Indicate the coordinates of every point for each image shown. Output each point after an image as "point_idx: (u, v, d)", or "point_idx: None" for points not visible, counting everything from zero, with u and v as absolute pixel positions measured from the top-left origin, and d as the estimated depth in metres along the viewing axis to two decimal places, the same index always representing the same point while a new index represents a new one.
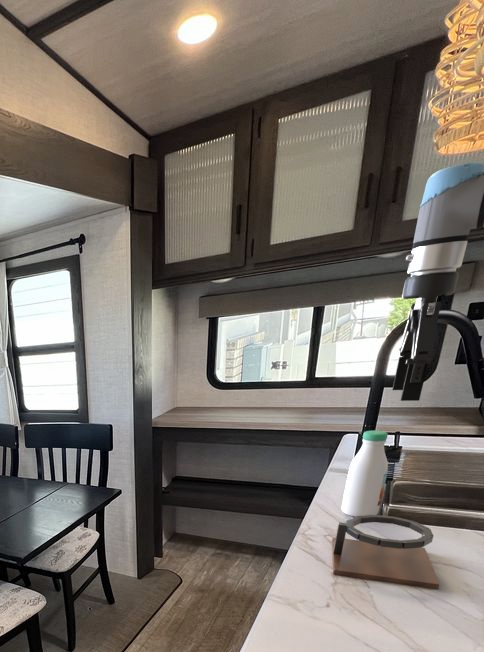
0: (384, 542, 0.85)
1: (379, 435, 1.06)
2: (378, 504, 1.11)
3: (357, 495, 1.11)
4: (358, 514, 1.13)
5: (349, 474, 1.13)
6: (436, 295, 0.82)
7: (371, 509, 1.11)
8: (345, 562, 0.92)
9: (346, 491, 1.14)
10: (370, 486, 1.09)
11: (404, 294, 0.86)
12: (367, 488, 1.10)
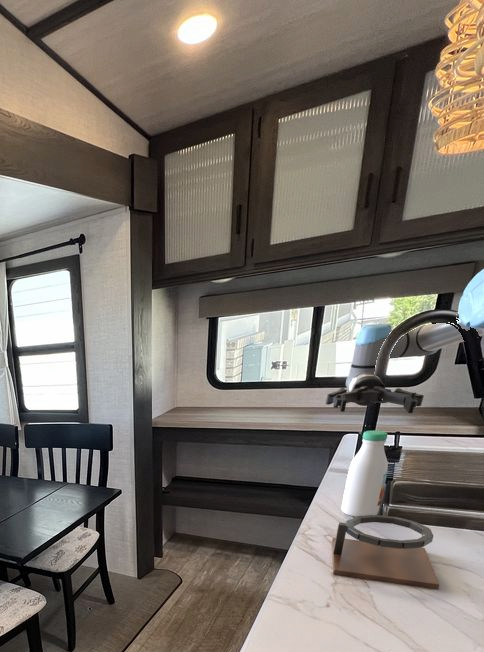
0: (384, 542, 0.85)
1: (379, 435, 1.06)
2: (378, 504, 1.11)
3: (357, 495, 1.11)
4: (358, 514, 1.13)
5: (349, 474, 1.13)
6: (352, 389, 1.27)
7: (371, 509, 1.11)
8: (345, 562, 0.92)
9: (346, 491, 1.14)
10: (370, 486, 1.09)
11: (359, 404, 1.28)
12: (367, 488, 1.10)
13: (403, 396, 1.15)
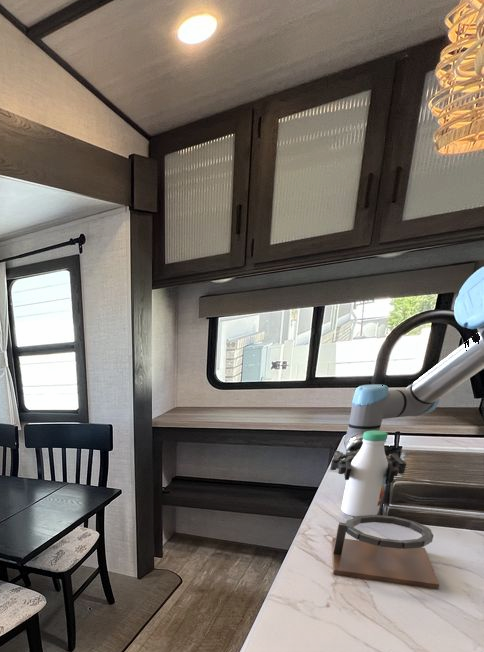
0: (384, 542, 0.85)
1: (379, 435, 1.06)
2: (378, 504, 1.11)
3: (357, 495, 1.11)
4: (358, 514, 1.13)
5: None
6: (347, 451, 1.24)
7: (371, 509, 1.11)
8: (345, 562, 0.92)
9: (346, 491, 1.14)
10: (370, 486, 1.09)
11: None
12: (367, 488, 1.10)
13: None
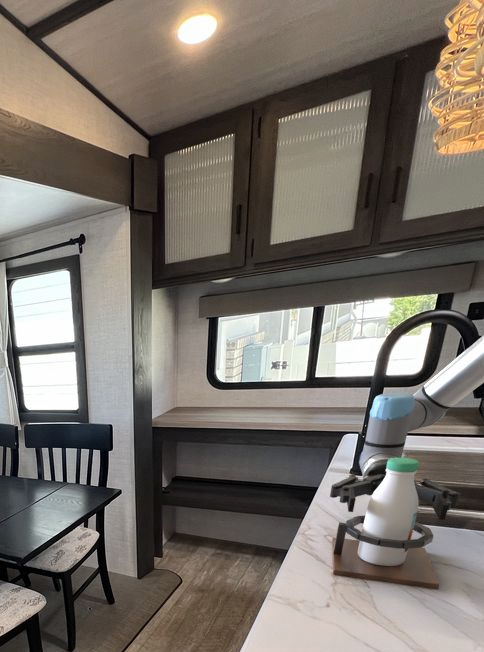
0: (384, 542, 0.85)
1: (408, 465, 0.83)
2: (405, 550, 0.88)
3: None
4: (380, 562, 0.89)
5: (368, 511, 0.89)
6: (365, 475, 1.00)
7: (396, 556, 0.88)
8: (345, 562, 0.92)
9: (364, 532, 0.91)
10: (396, 528, 0.86)
11: None
12: (392, 531, 0.86)
13: (432, 493, 0.88)
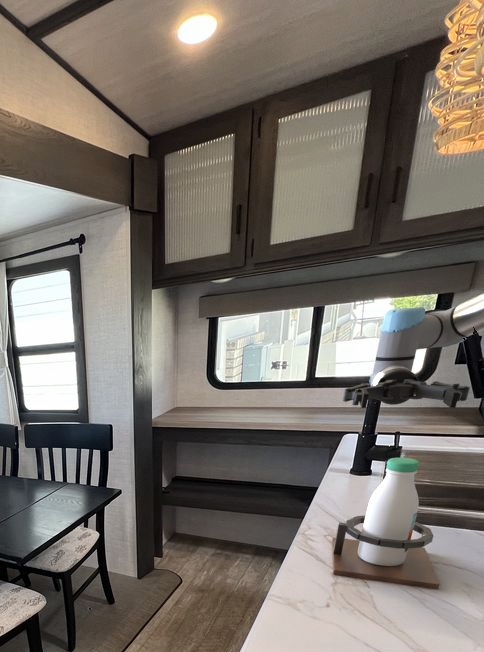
0: (384, 542, 0.85)
1: (409, 465, 0.83)
2: (405, 550, 0.88)
3: None
4: (380, 562, 0.89)
5: (369, 511, 0.89)
6: (377, 384, 1.04)
7: (397, 556, 0.88)
8: (345, 562, 0.92)
9: (364, 532, 0.91)
10: (396, 528, 0.86)
11: (386, 403, 1.05)
12: (392, 531, 0.86)
13: (442, 389, 0.91)
